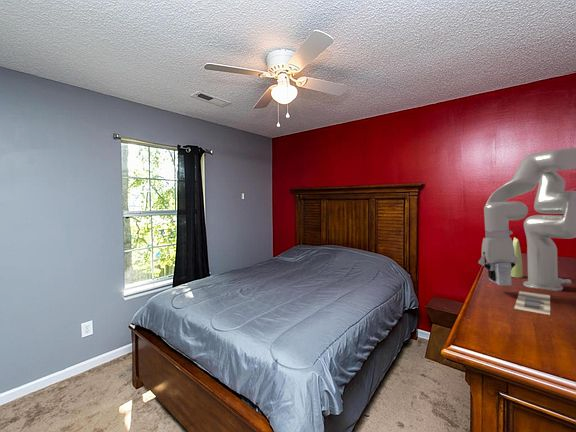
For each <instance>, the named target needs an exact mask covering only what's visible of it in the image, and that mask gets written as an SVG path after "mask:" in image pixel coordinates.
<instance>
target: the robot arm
mask: <svg viewBox="0 0 576 432" xmlns="http://www.w3.org/2000/svg"><path fill="white" fill-rule="evenodd" d="M518 165H519V166H518V167H517V169H516V171H515V172H514V175H513V177H512V178H511V179H510V180H508V181H507V182H506V183H504V184H503V185H501V186H500V187H499V188H496V190H495V191H493V192H492V194H490V196H489V197H488V200H486V203H485V204H484V207H483V213H484V214H483V217H484V231H485V232H484V233H485V234H484V235H485V237H483V238H482V243H481V257H480V259H479V260H478V262H477V263H478V264H479V265H481V266H483V267H484V268H485V269H487V273H488V279H489V278H490V279H491V280H493V281H495V280H496V278H495V271H494V265H495V263H506V262H507V263H510V267H511V270H512V268H513V267H514V266H515V265H516V264H518V263H519V262H520V260H519V259H518V258H517V257H516V256H515V251H514V246H513V240H512V237H510V235H513V234H514V233H513V231H512V230H510V226H509V221H520V220H523V219H525V220H524V221H523V229H524V233H525V236H526V237H525V239H526V245H527V247H526V250H527V251H526V254H527V280H526V281H523V286H524V287H526V288H530V289H540V290H545V291H556V292H561V291H563V289H564V286H562V285H563V284H564V285H565V284H566V285H571V284H572V280H571V279H564V278H561V277H558V248H557V245H556V243H555V242H554V240H553V239H566V240H567V239H569V240H570V239H575V238H576V190H565V189H566V188H565V187H566V180H565V179H564V178H563V177H562V176H561V175H560V174H559V173H557V171H567V170H574V169H576V147H570V148H561V149H560V148H559V149H552V150H546V151H540V152H535V153H530V154H528V155H526V156H525V157H523V158H522V160H521V162H520V163H519V164H518ZM537 185H538V186H537ZM536 187H537V191H536V195H535V198H534V202H533V208H534V210H535V211H536V212H537V213H540V214H534V215H531V216H528V217H527V215H528V213H529V208H528V206H527V205H526V204H525V203H524V202H522V201H516V200H514V201H509V200H510V199H512V198H516V197H518V196H521V195H524V194H527V193H529V192H531V191H533V190H535V188H536ZM526 217H527V218H526ZM485 262H487V263H485Z"/></svg>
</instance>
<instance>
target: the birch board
mask: <svg viewBox="0 0 576 432" xmlns="http://www.w3.org/2000/svg"><path fill="white" fill-rule="evenodd" d="M526 296H527V297H534V298H541V303H540V309H535V308H529V307H524V303H525V299H526ZM513 309H514V310H518V311H525V312H530V313H531V312H532V313H535V314H536V313H537V314H542V315H549V316H551V295H550V294H544V293H536V292H528V291H522V290H520V291H518V295H517V297H516V301H515V305H514V307H513Z"/></svg>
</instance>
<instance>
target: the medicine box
mask: <svg viewBox="0 0 576 432" xmlns="http://www.w3.org/2000/svg"><path fill="white" fill-rule="evenodd" d="M494 271H495V278H496V280H495V281H493V280H491V279H490V278H489V277H488V281H491V282H493V283H494V284H497V286H503V287H504V286H512V285H513V281H512V277H511V267H510V263H507V262H506V263H495V265H494Z"/></svg>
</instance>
